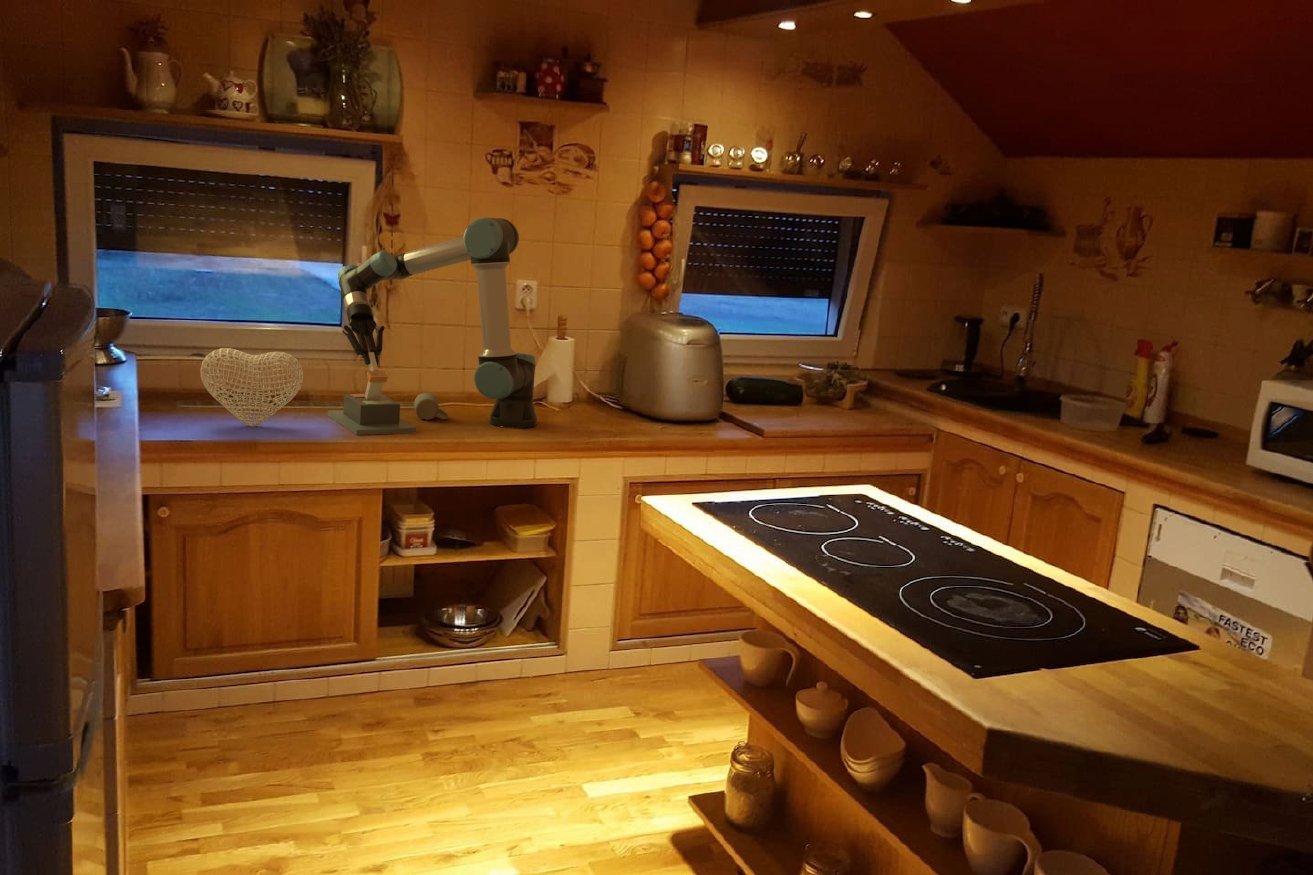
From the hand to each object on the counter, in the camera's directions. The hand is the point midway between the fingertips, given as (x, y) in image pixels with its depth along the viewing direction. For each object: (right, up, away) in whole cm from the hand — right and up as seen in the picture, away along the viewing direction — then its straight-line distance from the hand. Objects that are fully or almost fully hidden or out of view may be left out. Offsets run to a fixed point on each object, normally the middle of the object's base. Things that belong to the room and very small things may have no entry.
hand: (374, 372), depth 327 cm
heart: (-32, -16, -12) cm, 38 cm away
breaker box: (-2, -15, +5) cm, 16 cm away
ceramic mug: (+13, -14, +20) cm, 28 cm away
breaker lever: (-2, -8, +3) cm, 9 cm away
